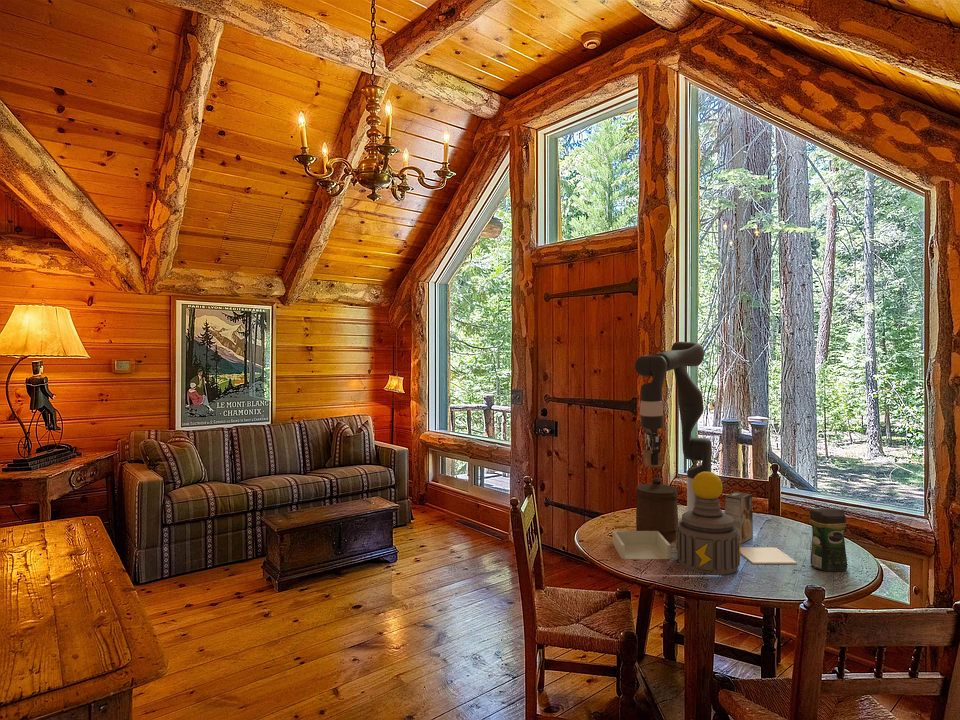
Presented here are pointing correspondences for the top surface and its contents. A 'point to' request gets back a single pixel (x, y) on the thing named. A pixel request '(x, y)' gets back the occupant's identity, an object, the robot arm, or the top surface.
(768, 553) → the mat
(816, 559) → the coffee jar
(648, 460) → the walnut block
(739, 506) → the coffee box
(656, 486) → the wooden container
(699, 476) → the decorative lamp
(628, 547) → the open box
